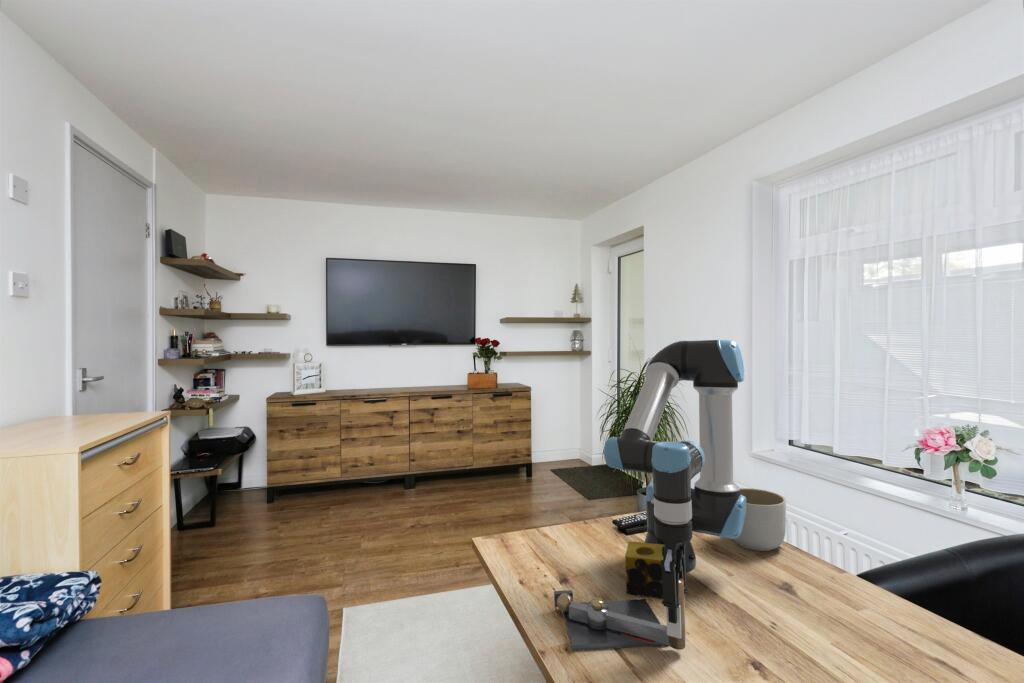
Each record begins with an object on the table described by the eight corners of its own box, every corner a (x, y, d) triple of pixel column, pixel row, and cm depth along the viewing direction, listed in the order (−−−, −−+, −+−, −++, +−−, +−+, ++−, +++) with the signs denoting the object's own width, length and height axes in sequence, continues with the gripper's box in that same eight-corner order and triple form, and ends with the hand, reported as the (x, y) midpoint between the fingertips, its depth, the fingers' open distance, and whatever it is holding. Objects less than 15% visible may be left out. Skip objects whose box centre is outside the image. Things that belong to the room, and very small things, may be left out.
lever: (687, 640, 100) (685, 576, 100) (683, 653, 95) (681, 587, 95) (574, 610, 112) (573, 553, 112) (567, 621, 107) (565, 562, 107)
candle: (668, 581, 127) (667, 544, 127) (667, 600, 118) (666, 560, 118) (629, 576, 131) (628, 540, 131) (625, 594, 121) (624, 555, 121)
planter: (719, 532, 158) (718, 487, 158) (773, 534, 155) (772, 488, 155) (736, 555, 141) (734, 504, 141) (797, 557, 138) (795, 506, 138)
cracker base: (645, 603, 116) (644, 576, 116) (672, 649, 99) (671, 617, 99) (554, 608, 115) (553, 581, 115) (565, 655, 98) (564, 623, 98)
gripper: (663, 503, 107) (666, 605, 107) (644, 529, 93) (647, 647, 93) (698, 508, 103) (701, 614, 103) (683, 536, 89) (687, 659, 89)
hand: (676, 630), depth 98 cm, fingers closed on lever, 3 cm apart
